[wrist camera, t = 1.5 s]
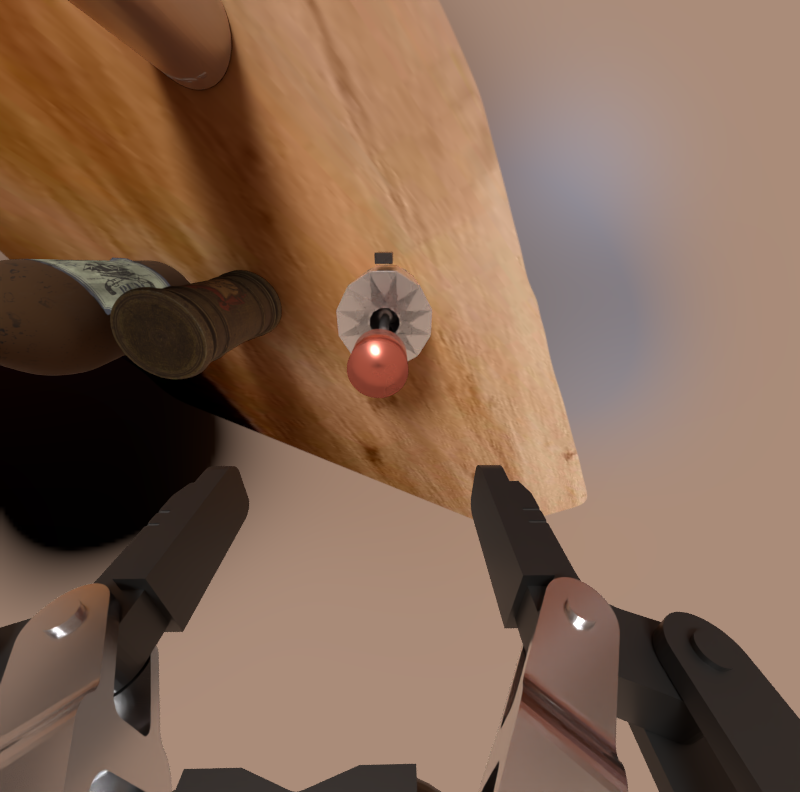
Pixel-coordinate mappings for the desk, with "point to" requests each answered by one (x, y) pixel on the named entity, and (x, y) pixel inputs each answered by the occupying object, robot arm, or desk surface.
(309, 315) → the desk surface
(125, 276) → the olive oil
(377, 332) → the plunger
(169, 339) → the container
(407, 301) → the press carafe
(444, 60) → the desk surface
